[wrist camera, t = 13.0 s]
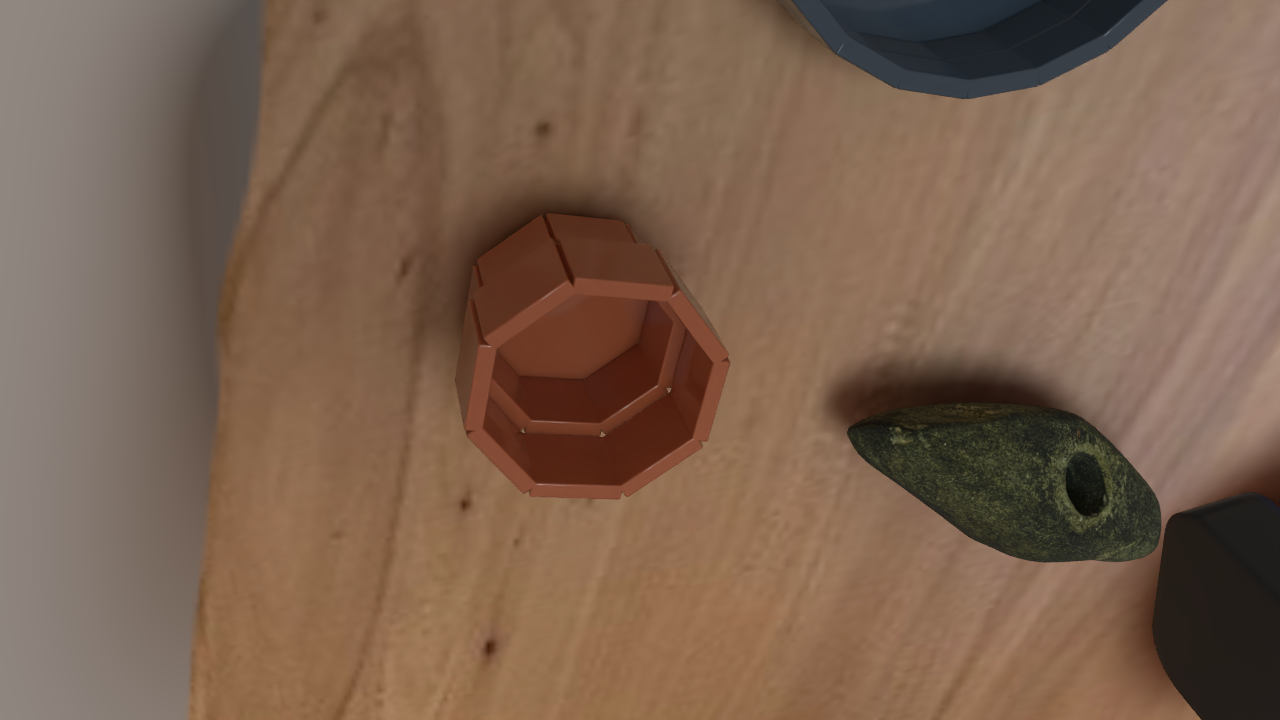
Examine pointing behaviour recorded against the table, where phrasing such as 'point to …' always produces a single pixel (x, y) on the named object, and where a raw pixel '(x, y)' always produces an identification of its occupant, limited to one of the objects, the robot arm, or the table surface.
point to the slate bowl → (969, 39)
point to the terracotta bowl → (585, 360)
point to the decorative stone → (1017, 479)
